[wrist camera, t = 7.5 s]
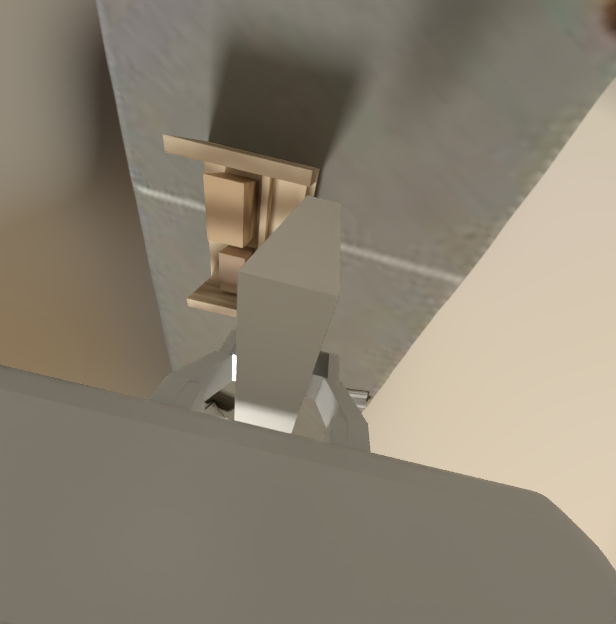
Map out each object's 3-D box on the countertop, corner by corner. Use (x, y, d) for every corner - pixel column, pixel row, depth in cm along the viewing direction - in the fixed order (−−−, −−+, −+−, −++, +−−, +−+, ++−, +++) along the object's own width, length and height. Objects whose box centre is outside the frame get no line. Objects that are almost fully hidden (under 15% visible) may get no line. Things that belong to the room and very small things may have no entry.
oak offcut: (224, 172, 31) (203, 173, 26) (259, 180, 31) (244, 183, 26) (226, 229, 36) (207, 239, 31) (256, 236, 36) (242, 248, 31)
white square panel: (307, 195, 16) (237, 271, 5) (340, 203, 16) (339, 296, 5) (283, 321, 23) (233, 462, 12) (307, 327, 23) (277, 472, 12)
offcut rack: (208, 141, 30) (162, 134, 23) (319, 168, 31) (312, 170, 23) (215, 280, 43) (188, 306, 35) (294, 298, 43) (284, 328, 35)
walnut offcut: (232, 242, 37) (218, 252, 33) (255, 248, 37) (244, 258, 33) (232, 276, 40) (220, 289, 36) (253, 281, 41) (243, 295, 36)
